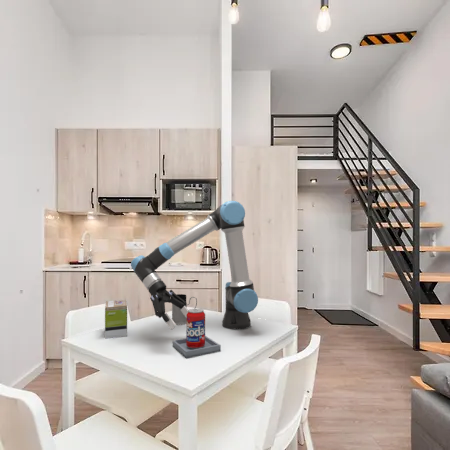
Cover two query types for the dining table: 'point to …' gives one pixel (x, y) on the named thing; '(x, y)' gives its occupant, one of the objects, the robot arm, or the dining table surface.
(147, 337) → the dining table surface
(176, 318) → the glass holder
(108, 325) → the tea box
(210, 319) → the dining table surface
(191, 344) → the soda can
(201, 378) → the dining table surface
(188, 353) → the tray
